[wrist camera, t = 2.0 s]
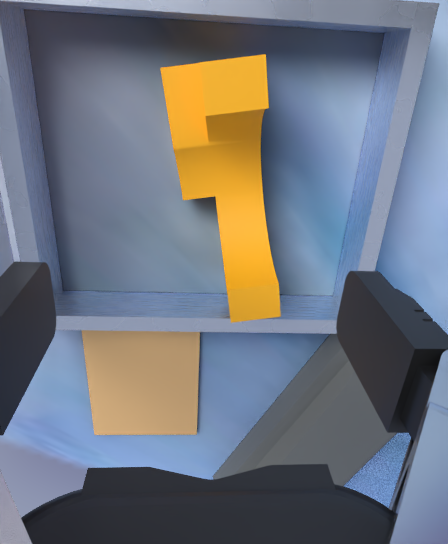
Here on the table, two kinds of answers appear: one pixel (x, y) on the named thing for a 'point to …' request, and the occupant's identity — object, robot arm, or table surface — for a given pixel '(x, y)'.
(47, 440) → the table surface
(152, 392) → the tan rectangular plate
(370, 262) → the case
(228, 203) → the yellow curved stepped piece
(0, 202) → the lid
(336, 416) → the grey bevelled block
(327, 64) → the table surface
